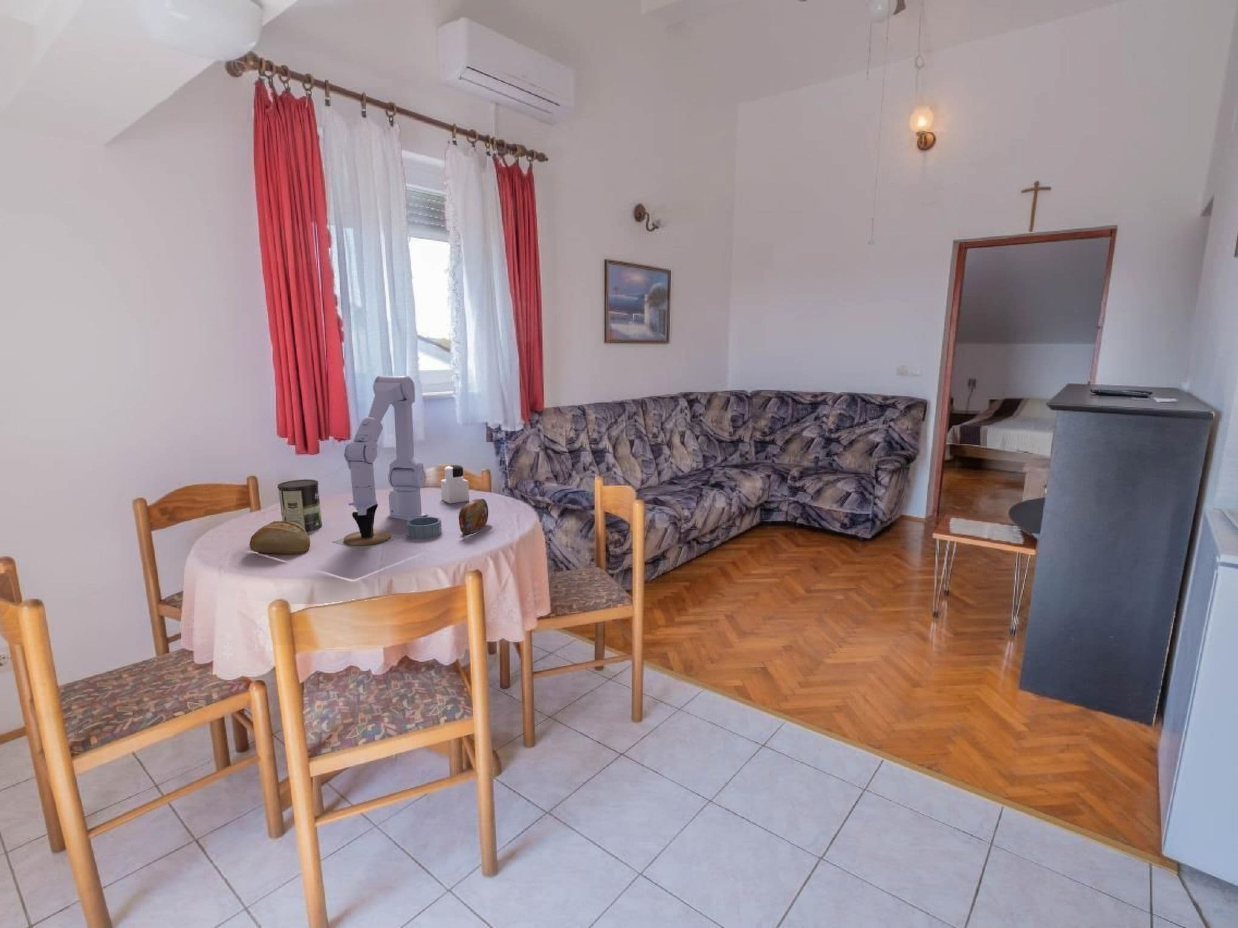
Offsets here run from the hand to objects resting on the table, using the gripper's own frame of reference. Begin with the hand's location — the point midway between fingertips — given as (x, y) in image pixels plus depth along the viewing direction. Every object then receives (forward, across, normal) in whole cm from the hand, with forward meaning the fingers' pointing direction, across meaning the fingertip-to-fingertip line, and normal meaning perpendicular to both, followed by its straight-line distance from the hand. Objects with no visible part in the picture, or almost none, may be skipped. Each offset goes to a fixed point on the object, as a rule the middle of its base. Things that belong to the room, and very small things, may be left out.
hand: (367, 533), depth 167 cm
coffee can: (+2, -15, -19) cm, 24 cm away
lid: (+2, 0, 0) cm, 2 cm away
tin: (+2, -2, +29) cm, 29 cm away
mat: (+2, 0, 0) cm, 2 cm away
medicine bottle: (+2, -38, +24) cm, 45 cm away
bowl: (+2, -1, +15) cm, 15 cm away
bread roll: (+2, +4, -20) cm, 21 cm away
